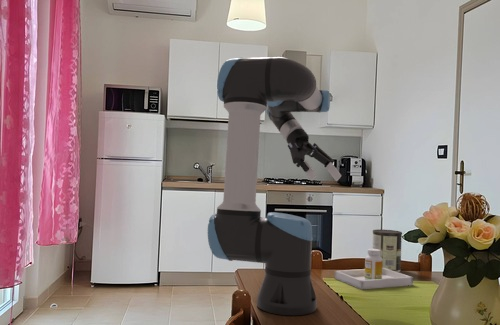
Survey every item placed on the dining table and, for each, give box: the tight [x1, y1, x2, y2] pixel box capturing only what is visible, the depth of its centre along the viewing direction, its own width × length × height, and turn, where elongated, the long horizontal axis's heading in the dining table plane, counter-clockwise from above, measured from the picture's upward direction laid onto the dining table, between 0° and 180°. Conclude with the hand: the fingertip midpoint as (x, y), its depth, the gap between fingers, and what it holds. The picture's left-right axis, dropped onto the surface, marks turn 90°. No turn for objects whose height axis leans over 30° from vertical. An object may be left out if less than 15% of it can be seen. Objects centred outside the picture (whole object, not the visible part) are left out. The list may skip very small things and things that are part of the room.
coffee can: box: [372, 229, 403, 273], centre depth 166 cm, size 10×10×14 cm
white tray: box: [334, 268, 414, 290], centre depth 146 cm, size 20×14×2 cm
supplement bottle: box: [364, 248, 382, 280], centre depth 146 cm, size 5×5×10 cm
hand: (326, 178), depth 153 cm, fingers open, 13 cm apart
